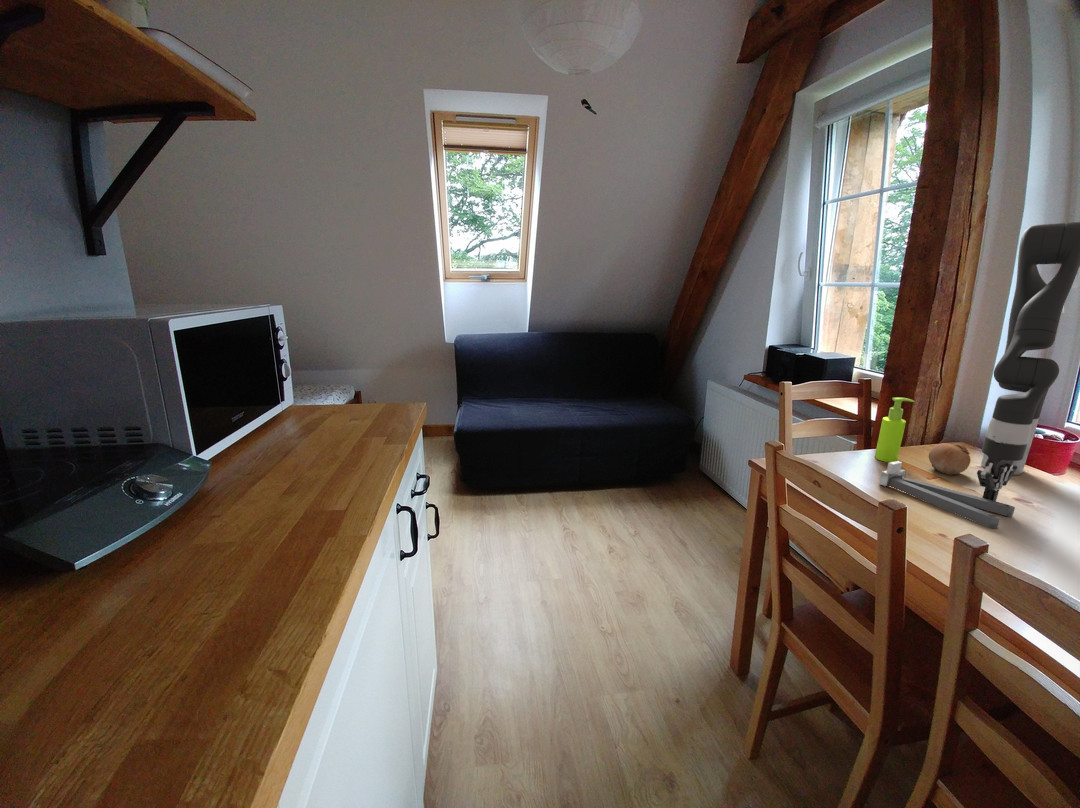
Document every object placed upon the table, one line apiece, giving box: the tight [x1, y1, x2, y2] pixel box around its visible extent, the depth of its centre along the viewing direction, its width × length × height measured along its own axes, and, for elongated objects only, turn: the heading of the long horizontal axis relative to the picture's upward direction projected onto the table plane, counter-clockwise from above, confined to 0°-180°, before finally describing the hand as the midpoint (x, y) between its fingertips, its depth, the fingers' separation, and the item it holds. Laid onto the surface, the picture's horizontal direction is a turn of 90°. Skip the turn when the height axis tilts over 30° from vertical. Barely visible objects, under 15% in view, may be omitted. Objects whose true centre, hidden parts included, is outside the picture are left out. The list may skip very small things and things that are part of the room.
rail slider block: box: [878, 460, 906, 487], centre depth 134 cm, size 2×7×6 cm, turn 112°
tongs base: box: [887, 476, 1001, 530], centre depth 124 cm, size 26×5×2 cm, turn 22°
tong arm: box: [903, 476, 1016, 518], centre depth 125 cm, size 22×2×2 cm, turn 41°
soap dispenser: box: [874, 397, 916, 463], centre depth 150 cm, size 6×7×20 cm
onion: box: [928, 442, 971, 476], centre depth 142 cm, size 10×9×10 cm
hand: (988, 501), depth 122 cm, fingers closed
